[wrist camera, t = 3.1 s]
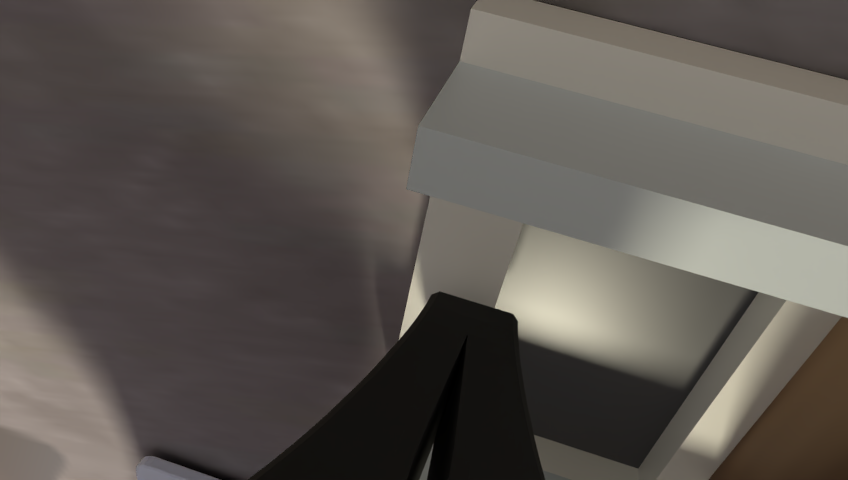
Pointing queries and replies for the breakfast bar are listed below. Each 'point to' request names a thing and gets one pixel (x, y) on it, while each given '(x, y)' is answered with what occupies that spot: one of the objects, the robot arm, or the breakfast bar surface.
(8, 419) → the breakfast bar surface
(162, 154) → the breakfast bar surface
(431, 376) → the robot arm
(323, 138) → the breakfast bar surface
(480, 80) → the trap channel
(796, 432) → the walnut block
